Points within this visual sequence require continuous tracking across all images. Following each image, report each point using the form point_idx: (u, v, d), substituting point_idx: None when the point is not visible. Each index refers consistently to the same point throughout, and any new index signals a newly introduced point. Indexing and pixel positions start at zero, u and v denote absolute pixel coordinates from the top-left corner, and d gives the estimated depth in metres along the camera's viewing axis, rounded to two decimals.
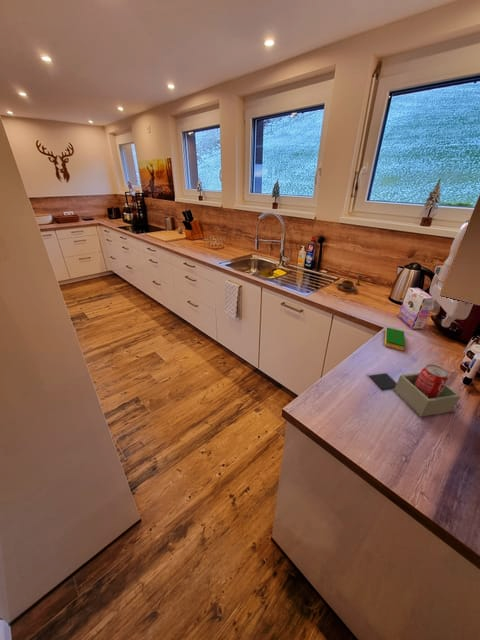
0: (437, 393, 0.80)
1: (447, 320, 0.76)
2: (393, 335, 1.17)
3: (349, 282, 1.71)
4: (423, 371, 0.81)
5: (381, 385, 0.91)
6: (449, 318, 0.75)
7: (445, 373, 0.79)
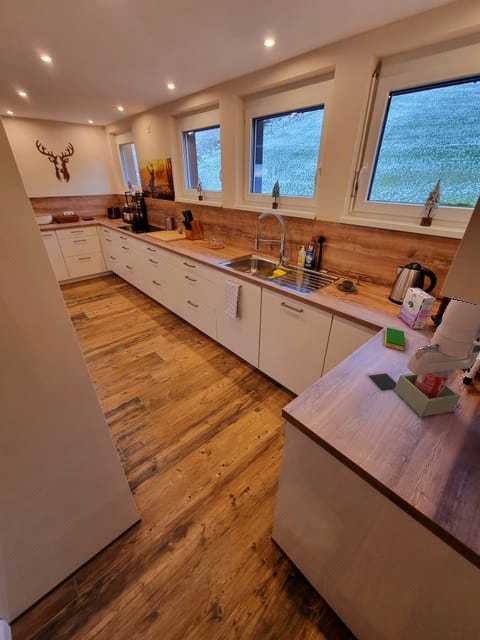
0: (437, 393, 0.80)
1: (418, 375, 0.80)
2: (393, 335, 1.17)
3: (349, 282, 1.71)
4: None
5: (381, 385, 0.91)
6: None
7: (445, 373, 0.79)
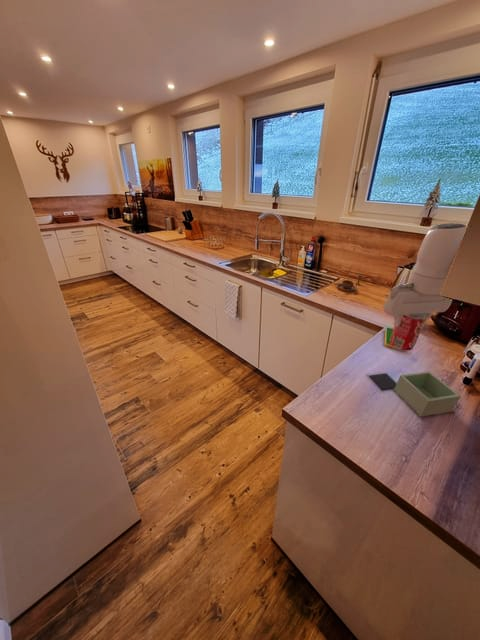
0: (413, 336, 0.80)
1: (395, 318, 0.80)
2: None
3: (349, 282, 1.71)
4: None
5: (381, 385, 0.91)
6: (394, 316, 0.79)
7: (421, 316, 0.79)
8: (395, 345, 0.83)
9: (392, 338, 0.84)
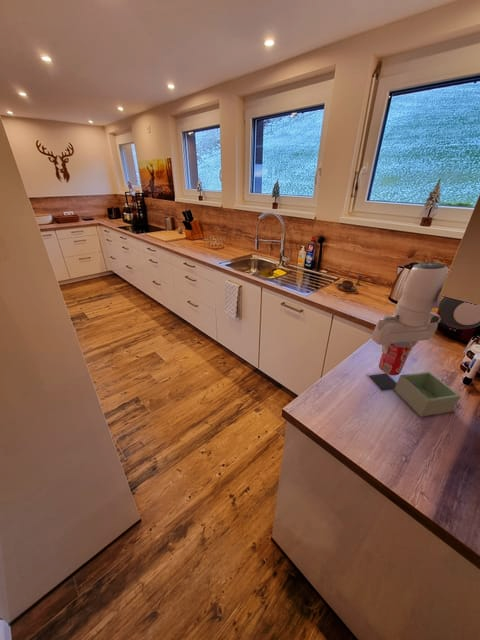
0: (400, 363, 0.85)
1: (383, 346, 0.85)
2: None
3: (349, 282, 1.71)
4: None
5: (381, 385, 0.91)
6: (382, 344, 0.85)
7: (407, 344, 0.84)
8: (383, 370, 0.89)
9: (381, 363, 0.90)
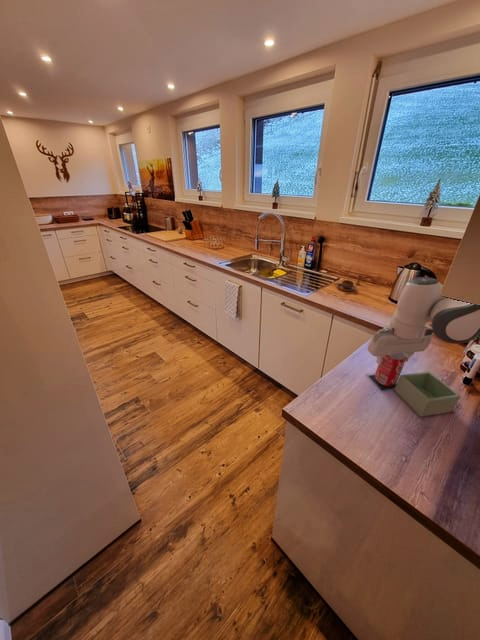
0: (395, 374, 0.87)
1: (377, 357, 0.87)
2: None
3: (349, 282, 1.71)
4: None
5: (381, 385, 0.91)
6: (377, 355, 0.87)
7: (402, 356, 0.87)
8: (379, 380, 0.91)
9: (377, 374, 0.92)
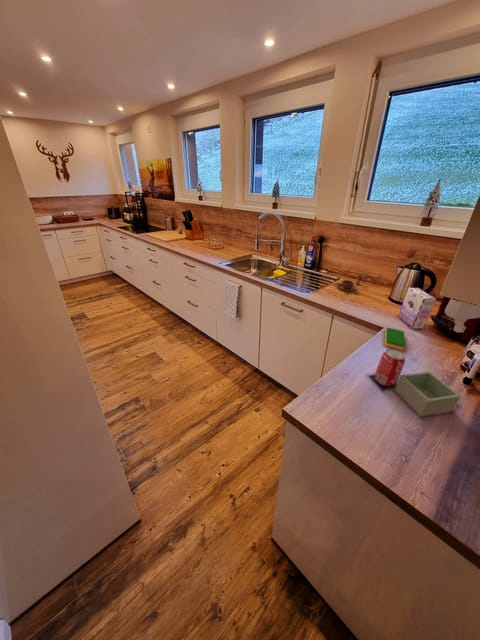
0: (395, 374, 0.87)
1: (456, 323, 0.69)
2: (393, 335, 1.17)
3: (349, 282, 1.71)
4: (383, 355, 0.89)
5: (381, 385, 0.91)
6: (456, 320, 0.69)
7: (402, 356, 0.87)
8: (379, 381, 0.91)
9: (377, 374, 0.92)
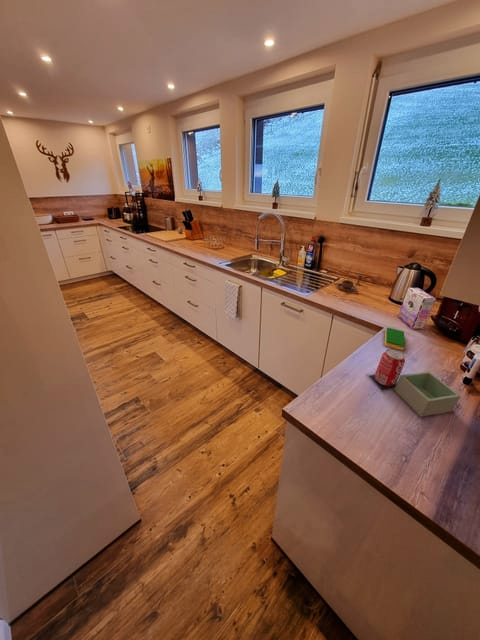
0: (395, 374, 0.87)
1: None
2: (393, 335, 1.17)
3: (349, 282, 1.71)
4: (383, 355, 0.89)
5: (381, 385, 0.91)
6: None
7: (402, 356, 0.87)
8: (379, 381, 0.91)
9: (377, 374, 0.92)
